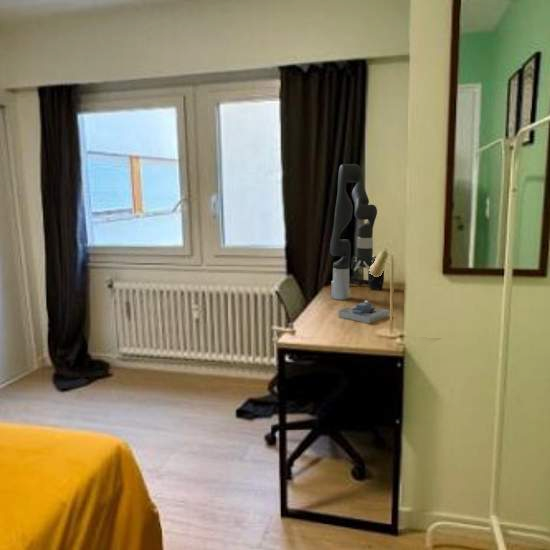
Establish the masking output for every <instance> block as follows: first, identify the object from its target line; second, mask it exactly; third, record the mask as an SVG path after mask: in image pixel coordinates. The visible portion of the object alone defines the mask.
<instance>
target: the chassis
mask: <svg viewBox="0 0 550 550" xmlns="http://www.w3.org/2000/svg"><path fill="white" fill-rule="evenodd" d="M356 305H357V304H356ZM356 305H353V306H350V307H347V308H343V309H340V310H338V313H337V314H338V315H337V316H338V318H342V319H346V318H347V320H350V319H351V321H355V320H356V322H359V321H360V323H364V322H365V324H368V323H369V324H372V323H375V322H378V321H381V320H383V319H386V318H388V316H389V317H390V310H389V309H384V308H379V307H375V309H373V310H371V312H372V314H370V313H361V314H357V313H353V311H354V310H356ZM385 317H386V318H385ZM380 319H381V320H380Z"/></svg>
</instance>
